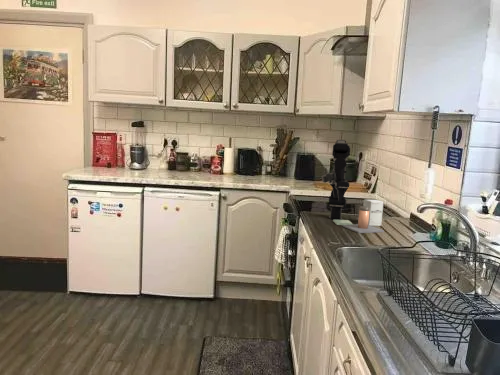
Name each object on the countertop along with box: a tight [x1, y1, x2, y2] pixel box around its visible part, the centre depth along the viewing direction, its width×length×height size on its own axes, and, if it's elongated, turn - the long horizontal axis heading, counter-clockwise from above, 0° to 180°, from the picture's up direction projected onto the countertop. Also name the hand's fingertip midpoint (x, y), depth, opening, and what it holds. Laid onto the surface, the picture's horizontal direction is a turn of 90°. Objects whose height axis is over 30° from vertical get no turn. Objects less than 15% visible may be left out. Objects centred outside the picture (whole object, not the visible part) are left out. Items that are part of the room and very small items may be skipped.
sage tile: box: [332, 219, 354, 226], centre depth 226 cm, size 8×8×1 cm
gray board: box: [342, 223, 385, 234], centre depth 214 cm, size 14×14×1 cm
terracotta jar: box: [357, 206, 370, 229], centre depth 213 cm, size 5×5×10 cm
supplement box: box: [363, 199, 384, 227], centre depth 225 cm, size 7×7×13 cm
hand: (337, 199), depth 219 cm, fingers open, 9 cm apart
